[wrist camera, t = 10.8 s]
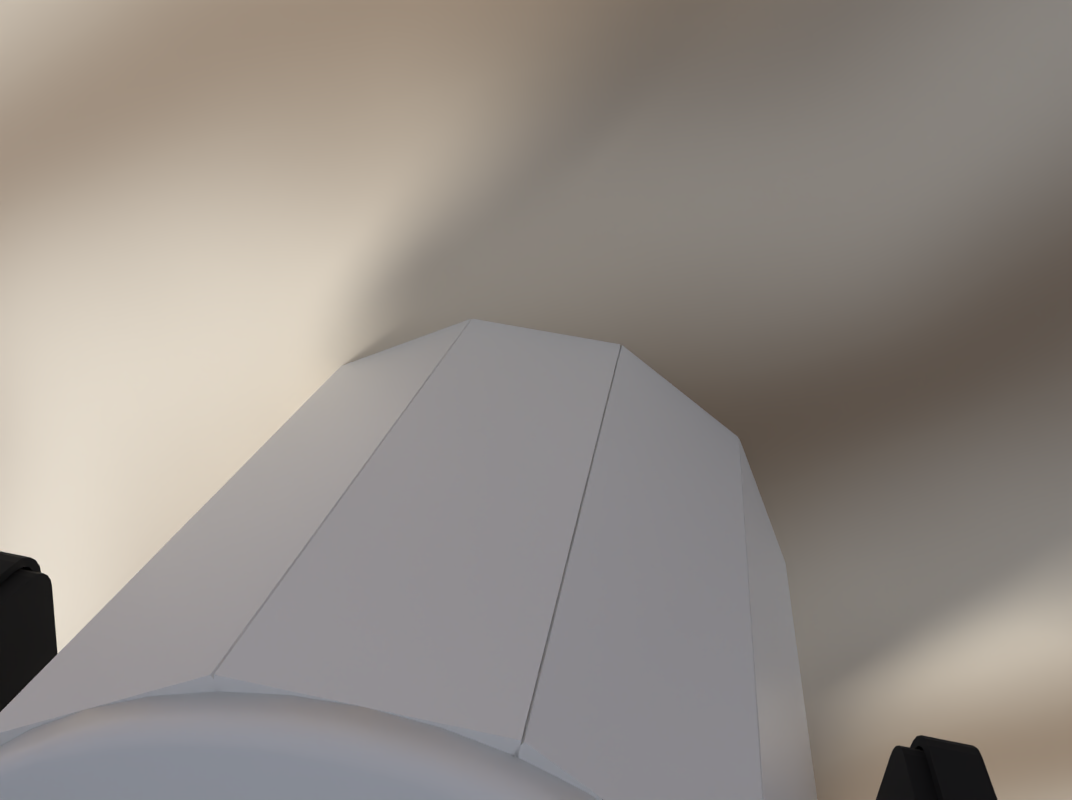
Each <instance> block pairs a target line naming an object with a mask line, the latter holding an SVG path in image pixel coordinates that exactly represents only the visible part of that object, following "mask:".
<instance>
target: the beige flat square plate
mask: <svg viewBox="0 0 1072 800" xmlns="http://www.w3.org/2000/svg"><path fill="white" fill-rule="evenodd" d="M469 319H471V320H472V319H478V320H484V321H489V322H495V323H501V324H507V325H512V326H518V327H524V328H530V329H535V330H541V331H547V332H553V333H558V334H564V335H570V336H576V337H581V338H587V339H593V340H599V341H604V342H610V343H616V344H621V346H622V345H623V346H624V347H625V348H627V349H628V350H629V351H630V352H632V353H633V354H634V355H635V356H637V357H638V358H639V359H640V360H642V361H643V362H644V363H645V364H647V365H648V366H649V367H651V368H652V369H653V370H654V371H656V372H657V373H658V374H659V375H661V376H662V377H663V378H664V379H666V380H667V381H668V382H669V383H671V384H672V385H673V386H674V387H676V388H677V389H678V390H680V391H681V392H682V393H683V394H685V395H686V396H687V397H688V398H690V399H691V400H692V401H693V402H695V403H696V404H697V405H698V406H700V407H701V408H702V409H703V410H705V411H706V412H707V413H708V414H710V415H711V416H712V417H714V418H715V419H716V420H717V421H719V422H720V423H721V424H722V425H724V426H725V427H726V428H727V429H729V430H730V431H731V432H732V433H734V434H735V435H736V436H737V437H738V438H739V439H740V442H741V444H742V447H743V450H744V452H745V455H746V458H747V460H748V463H749V466H750V469H751V471H752V474H753V477H754V479H755V482H756V485H757V487H758V490H759V493H760V495H761V498H762V501H763V504H764V506H765V509H766V512H767V514H768V517H769V520H770V522H771V525H772V528H773V531H774V533H775V536H776V539H777V541H778V544H779V547H780V549H781V552H782V555H783V557H784V560H785V563H786V570H787V577H788V585H789V592H790V600H791V607H792V615H793V622H794V630H795V637H796V645H797V652H798V659H799V667H800V674H801V682H802V689H803V697H804V704H805V712H806V719H807V727H808V734H809V742H810V749H811V756H812V764H813V771H814V779H815V786H816V794H817V800H876V797H877V794H878V791H879V788H880V785H881V782H882V779H883V776H884V773H885V770H886V767H887V764H888V761H889V758H890V755H891V753H892V750H893V749H894V747H895V746H898V745H900V746H905V747H910V746H911V744H912V742H913V740H914V739H915V738H916V736H919V735H923V736H928V737H933V738H938V739H943V740H948V741H953V742H958V743H963V744H968V745H973V746H975V747H976V748H978V749H979V751H980V753H981V755H982V758H983V760H984V763H985V766H986V769H987V772H988V774H989V777H990V780H991V783H992V786H993V788H994V791H995V794H996V797H997V800H1072V0H0V551H2V552H7V553H12V554H17V555H22V556H27V557H31V558H33V559H35V560H36V561H37V563H38V564H39V566H40V569H41V573H44V574H46V575H48V576H49V578H50V579H51V583H52V591H53V604H54V616H55V628H56V641H57V653H59V652H60V651H61V650H62V649H63V648H64V647H65V646H66V645H67V644H68V643H69V642H70V641H71V640H72V639H73V638H74V637H75V636H76V635H77V634H78V633H79V632H80V631H81V630H82V629H83V628H84V627H85V626H86V625H87V624H88V623H89V622H90V621H91V620H92V618H93V617H94V616H95V615H96V614H97V613H98V612H99V611H100V610H101V609H102V608H103V607H104V606H105V605H106V604H107V603H108V602H109V601H110V600H111V599H112V598H113V597H114V596H115V595H116V594H117V593H118V592H119V591H120V590H121V589H122V588H123V587H124V586H125V585H126V584H127V583H128V582H129V581H130V580H131V579H132V578H133V577H134V576H135V575H136V574H137V573H138V572H139V571H140V570H141V569H142V568H143V567H144V566H145V565H146V564H147V563H148V562H149V561H150V560H151V559H152V558H153V557H154V556H155V555H156V554H157V553H158V552H159V550H160V549H161V548H162V547H163V546H164V545H165V544H166V543H167V542H168V541H169V540H170V539H171V538H172V537H173V536H174V535H175V534H176V533H177V532H178V531H179V530H180V529H181V528H182V527H183V526H184V525H185V524H186V523H187V522H188V521H189V520H190V519H191V518H192V517H193V516H194V515H195V514H196V513H197V512H198V511H199V510H200V509H201V508H202V507H203V506H204V505H205V504H206V503H207V502H208V501H209V500H210V499H211V498H212V497H213V496H214V495H215V494H216V493H217V492H218V491H219V490H220V489H221V488H222V487H223V486H224V485H225V484H226V483H227V481H228V480H229V479H230V478H231V477H232V476H233V475H234V474H235V473H236V472H237V471H238V470H239V469H240V468H241V467H242V466H243V465H244V464H245V463H246V462H247V461H248V460H249V459H250V458H251V457H252V456H253V455H254V454H255V453H256V452H257V451H258V450H259V449H260V448H261V447H262V446H263V445H264V444H265V443H266V442H267V441H268V440H269V439H270V438H271V437H272V436H273V435H274V434H275V433H276V432H277V431H278V430H279V429H280V428H281V427H282V426H283V425H284V424H285V423H286V422H287V421H288V420H289V419H290V418H291V417H292V416H293V415H294V413H295V412H296V411H297V410H298V409H299V408H300V407H301V406H302V405H303V404H304V403H305V402H306V401H307V400H308V399H309V398H310V397H311V396H312V395H313V394H314V393H315V392H316V391H317V390H318V389H319V388H320V387H321V386H322V385H323V384H324V383H325V382H326V381H327V380H328V379H329V378H330V377H331V376H332V375H333V374H334V373H335V372H336V371H337V370H338V369H339V368H340V367H341V366H342V365H345V364H348V363H350V362H353V361H356V360H359V359H361V358H364V357H367V356H370V355H372V354H375V353H378V352H381V351H383V350H386V349H389V348H392V347H394V346H397V345H400V344H403V343H405V342H408V341H411V340H414V339H416V338H419V337H422V336H425V335H427V334H430V333H433V332H436V331H438V330H441V329H444V328H447V327H449V326H452V325H455V324H458V323H460V322H463V321H466V320H469ZM621 346H620V347H621Z"/></svg>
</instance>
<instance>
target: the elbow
mask: <svg viewBox="0 0 1072 800" xmlns="http://www.w3.org/2000/svg"><path fill="white" fill-rule="evenodd" d="M620 346H621V344H616V343H610V342H604V341H599V340H593V339H587V338H581V337H576V336H570V335H564V334H558V333H553V332H547V331H541V330H535V329H530V328H524V327H518V326H512V325H507V324H501V323H495V322H489V321H484V320H478V319H472V320H471V319H469V320H466V321H463V322H460V323H458V324H455V325H452V326H449V327H447V328H444V329H441V330H438V331H436V332H433V333H430V334H427V335H425V336H422V337H419V338H416V339H414V340H411V341H408V342H405V343H403V344H400V345H397V346H394V347H392V348H389V349H386V350H383V351H381V352H378V353H375V354H372V355H370V356H367V357H364V358H361V359H359V360H356V361H353V362H350V363H348V364H345V365H342V366H341V367H340V368H339V369H338V370H337V371H336V372H335V373H334V374H333V375H332V376H331V377H330V378H329V379H328V380H327V381H326V382H325V383H324V384H323V385H322V386H321V387H320V388H319V389H318V390H317V391H316V392H315V393H314V394H313V395H312V396H311V397H310V398H309V399H308V400H307V401H306V402H305V403H304V404H303V405H302V406H301V407H300V408H299V409H298V410H297V411H296V412H295V413H294V415H293V416H292V417H291V418H290V419H289V420H288V421H287V422H286V423H285V424H284V425H283V426H282V427H281V428H280V429H279V430H278V431H277V432H276V433H275V434H274V435H273V436H272V437H271V438H270V439H269V440H268V441H267V442H266V443H265V444H264V445H263V446H262V447H261V448H260V449H259V450H258V451H257V452H256V453H255V454H254V455H253V456H252V457H251V458H250V459H249V460H248V461H247V462H246V463H245V464H244V465H243V466H242V467H241V468H240V469H239V470H238V471H237V472H236V473H235V474H234V475H233V476H232V477H231V478H230V479H229V480H228V481H227V483H226V484H225V485H224V486H223V487H222V488H221V489H220V490H219V491H218V492H217V493H216V494H215V495H214V496H213V497H212V498H211V499H210V500H209V501H208V502H207V503H206V504H205V505H204V506H203V507H202V508H201V509H200V510H199V511H198V512H197V513H196V514H195V515H194V516H193V517H192V518H191V519H190V520H189V521H188V522H187V523H186V524H185V525H184V526H183V527H182V528H181V529H180V530H179V531H178V532H177V533H176V534H175V535H174V536H173V537H172V538H171V539H170V540H169V541H168V542H167V543H166V544H165V545H164V546H163V547H162V548H161V549H160V550H159V552H158V553H157V554H156V555H155V556H154V557H153V558H152V559H151V560H150V561H149V562H148V563H147V564H146V565H145V566H144V567H143V568H142V569H141V570H140V571H139V572H138V573H137V574H136V575H135V576H134V577H133V578H132V579H131V580H130V581H129V582H128V583H127V584H126V585H125V586H124V587H123V588H122V589H121V590H120V591H119V592H118V593H117V594H116V595H115V596H114V597H113V598H112V599H111V600H110V601H109V602H108V603H107V604H106V605H105V606H104V607H103V608H102V609H101V610H100V611H99V612H98V613H97V614H96V615H95V616H94V617H93V618H92V620H91V621H90V622H89V623H88V624H87V625H86V626H85V627H84V628H83V629H82V630H81V631H80V632H79V633H78V634H77V635H76V636H75V637H74V638H73V639H72V640H71V641H70V642H69V643H68V644H67V645H66V646H65V647H64V648H63V649H62V650H61V651H60V652H59V653H58V654H57V655H56V656H55V657H54V658H53V659H52V660H51V661H50V662H49V663H48V664H47V665H46V666H45V667H44V668H43V669H42V670H41V671H40V672H39V673H38V674H37V675H36V676H35V677H34V678H33V679H32V680H31V681H30V682H29V683H28V684H27V685H26V686H25V688H24V689H23V690H22V691H21V692H20V693H19V694H18V695H17V696H16V697H15V698H14V699H13V700H12V701H11V702H10V703H9V704H8V705H7V706H6V707H5V708H4V709H3V710H2V711H1V712H0V800H817V794H816V786H815V779H814V771H813V764H812V756H811V749H810V742H809V734H808V727H807V719H806V712H805V704H804V697H803V689H802V682H801V674H800V667H799V659H798V652H797V645H796V637H795V630H794V622H793V615H792V607H791V600H790V592H789V585H788V577H787V570H786V563H785V560H784V557H783V555H782V552H781V549H780V547H779V544H778V541H777V539H776V536H775V533H774V531H773V528H772V525H771V522H770V520H769V517H768V514H767V512H766V509H765V506H764V504H763V501H762V498H761V495H760V493H759V490H758V487H757V485H756V482H755V479H754V477H753V474H752V471H751V469H750V466H749V463H748V460H747V458H746V455H745V452H744V450H743V447H742V444H741V442H740V439H739V438H738V437H737V436H736V435H735V434H734V433H732V432H731V431H730V430H729V429H727V428H726V427H725V426H724V425H722V424H721V423H720V422H719V421H717V420H716V419H715V418H714V417H712V416H711V415H710V414H708V413H707V412H706V411H705V410H703V409H702V408H701V407H700V406H698V405H697V404H696V403H695V402H693V401H692V400H691V399H690V398H688V397H687V396H686V395H685V394H683V393H682V392H681V391H680V390H678V389H677V388H676V387H674V386H673V385H672V384H671V383H669V382H668V381H667V380H666V379H664V378H663V377H662V376H661V375H659V374H658V373H657V372H656V371H654V370H653V369H652V368H651V367H649V366H648V365H647V364H645V363H644V362H643V361H642V360H640V359H639V358H638V357H637V356H635V355H634V354H633V353H632V352H630V351H629V350H628V349H627V348H625V347H624V346H623V345H622V346H621V347H620Z"/></svg>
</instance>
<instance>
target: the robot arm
mask: <svg viewBox="0 0 1072 800" xmlns="http://www.w3.org/2000/svg"><path fill="white" fill-rule="evenodd" d="M57 654H58V653H57V641H56V628H55V616H54V604H53V591H52V583H51V579H50V578H49V576H48V575H46V574H44V573H41V569H40V566H39V564H38V563H37V561H36V560H35V559H33V558H31V557H27V556H22V555H17V554H12V553H7V552H2V551H0V712H1V711H2V710H3V709H4V708H5V707H6V706H7V705H8V704H9V703H10V702H11V701H12V700H13V699H14V698H15V697H16V696H17V695H18V694H19V693H20V692H21V691H22V690H23V689H24V688H25V686H26V685H27V684H28V683H29V682H30V681H31V680H32V679H33V678H34V677H35V676H36V675H37V674H38V673H39V672H40V671H41V670H42V669H43V668H44V667H45V666H46V665H47V664H48V663H49V662H50V661H51V660H52V659H53V658H54V657H55V656H56V655H57ZM876 800H997V797H996V794H995V791H994V788H993V786H992V783H991V780H990V777H989V774H988V772H987V769H986V766H985V763H984V760H983V758H982V755H981V753H980V751H979V749H978V748H976V747H975V746H973V745H968V744H963V743H958V742H953V741H948V740H943V739H938V738H933V737H928V736H923V735H919V736H916V738H915V739H914V740H913V742H912V744H911V746H910V747H905V746H900V745H898V746H895V747H894V749H893V750H892V753H891V755H890V758H889V761H888V764H887V767H886V770H885V773H884V776H883V779H882V782H881V785H880V788H879V791H878V794H877V797H876Z"/></svg>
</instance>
